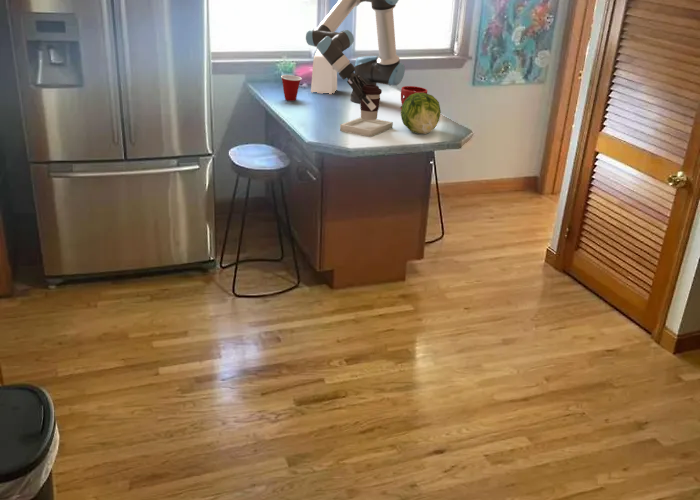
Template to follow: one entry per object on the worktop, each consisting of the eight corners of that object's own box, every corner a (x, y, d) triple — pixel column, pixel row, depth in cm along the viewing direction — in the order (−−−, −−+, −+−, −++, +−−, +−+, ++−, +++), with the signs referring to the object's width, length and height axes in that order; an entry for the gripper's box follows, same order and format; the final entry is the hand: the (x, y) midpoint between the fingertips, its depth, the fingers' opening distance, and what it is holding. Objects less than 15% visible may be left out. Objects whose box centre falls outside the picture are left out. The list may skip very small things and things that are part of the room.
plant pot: (403, 115, 361) (405, 91, 356) (396, 109, 372) (398, 85, 368) (428, 115, 364) (431, 91, 359) (420, 109, 375) (422, 85, 370)
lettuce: (403, 121, 315) (440, 98, 313) (388, 100, 334) (423, 77, 332) (421, 151, 326) (456, 129, 324) (405, 129, 345) (439, 108, 342)
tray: (362, 122, 343) (362, 116, 342) (392, 128, 336) (392, 122, 335) (340, 130, 328) (340, 124, 326) (370, 136, 320) (371, 130, 319)
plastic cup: (298, 102, 375) (298, 79, 370) (278, 100, 376) (278, 77, 372) (303, 98, 384) (304, 75, 380) (284, 96, 386) (284, 73, 381)
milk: (337, 90, 408) (339, 42, 397) (331, 94, 397) (333, 45, 387) (316, 88, 410) (317, 41, 399) (310, 92, 400) (312, 43, 389)
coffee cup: (382, 117, 334) (384, 85, 328) (375, 122, 326) (378, 88, 320) (361, 115, 337) (363, 82, 331) (355, 119, 328) (356, 86, 322)
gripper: (344, 69, 337) (375, 106, 340) (331, 77, 317) (365, 117, 320) (355, 58, 333) (387, 96, 337) (344, 66, 313) (377, 106, 317)
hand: (376, 106), depth 328 cm, fingers closed on coffee cup, 10 cm apart
